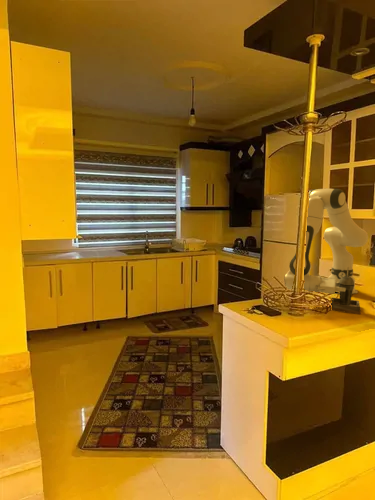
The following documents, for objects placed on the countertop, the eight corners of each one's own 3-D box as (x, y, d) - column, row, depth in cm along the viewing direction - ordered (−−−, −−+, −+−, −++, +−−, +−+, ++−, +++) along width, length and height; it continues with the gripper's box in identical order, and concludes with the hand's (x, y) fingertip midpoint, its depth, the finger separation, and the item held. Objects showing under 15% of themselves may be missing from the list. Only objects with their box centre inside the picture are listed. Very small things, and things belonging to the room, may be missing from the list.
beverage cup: (336, 306, 178) (339, 267, 175) (337, 303, 184) (340, 265, 181) (351, 309, 174) (355, 269, 172) (353, 305, 181) (356, 267, 178)
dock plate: (330, 303, 189) (330, 297, 188) (359, 306, 183) (359, 300, 183) (329, 310, 176) (330, 304, 175) (360, 314, 170) (361, 307, 170)
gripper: (315, 282, 174) (346, 285, 168) (317, 275, 192) (345, 277, 187) (314, 295, 174) (345, 298, 169) (317, 286, 193) (344, 289, 188)
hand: (345, 287), depth 178 cm, fingers open, 8 cm apart
